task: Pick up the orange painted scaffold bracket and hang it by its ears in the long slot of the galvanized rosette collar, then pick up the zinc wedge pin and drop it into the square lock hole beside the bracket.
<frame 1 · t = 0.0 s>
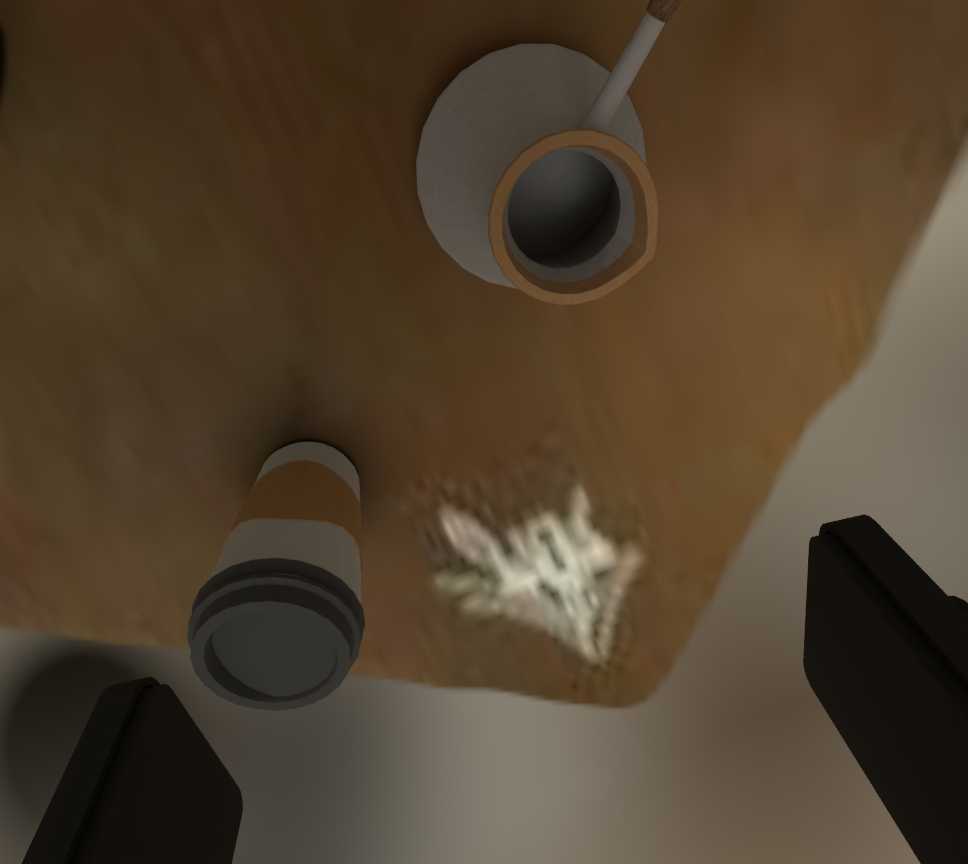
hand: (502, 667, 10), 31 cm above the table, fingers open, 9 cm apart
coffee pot: (562, 69, 34), on the table
coffee cup: (311, 477, 45), on the table
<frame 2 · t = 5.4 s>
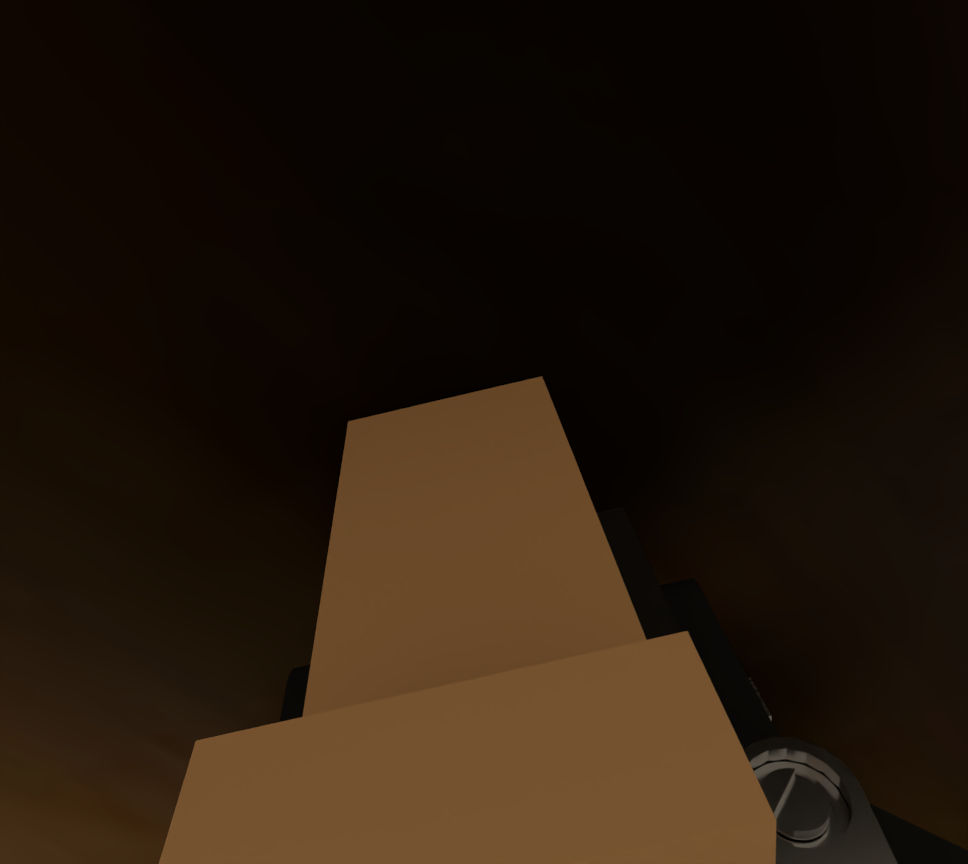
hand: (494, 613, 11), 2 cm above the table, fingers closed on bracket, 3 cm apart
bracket: (483, 540, 12), on the table, touching gripper
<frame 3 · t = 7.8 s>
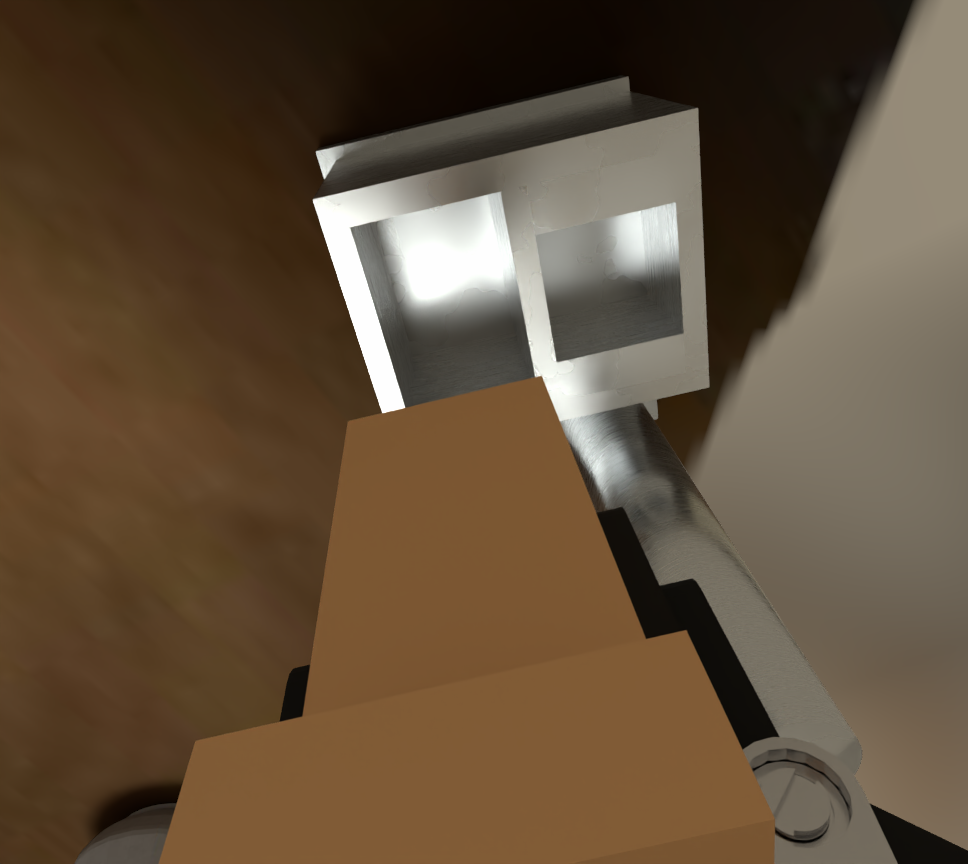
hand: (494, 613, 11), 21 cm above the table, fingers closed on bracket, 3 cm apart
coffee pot: (193, 791, 46), on the table
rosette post: (505, 294, 30), on the table
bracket: (483, 539, 12), point 19 cm above the table, touching gripper
when the fingers open (8 cm above the table, at t = 10.3 s): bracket drops 5 cm, resting on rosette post.
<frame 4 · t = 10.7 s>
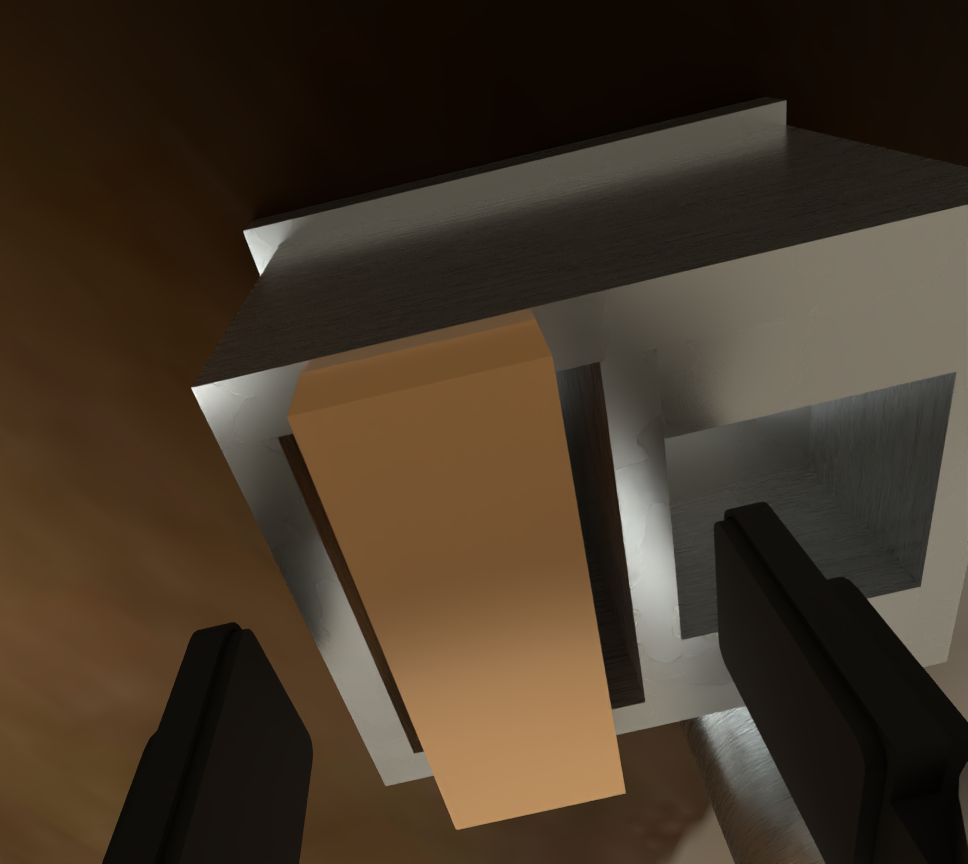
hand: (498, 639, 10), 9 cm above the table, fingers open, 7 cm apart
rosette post: (556, 433, 19), on the table
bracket: (458, 401, 17), point 1 cm above the table, touching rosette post
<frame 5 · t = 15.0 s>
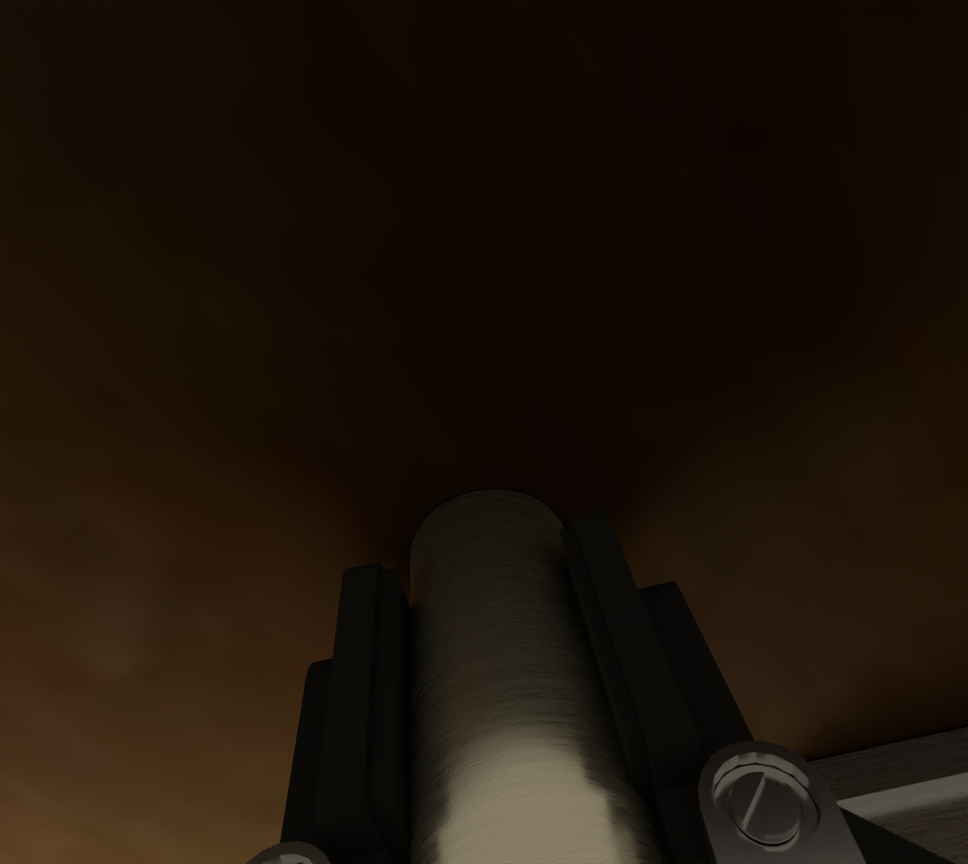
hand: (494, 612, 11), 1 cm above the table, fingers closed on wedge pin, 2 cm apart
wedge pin: (489, 554, 12), on the table, touching gripper
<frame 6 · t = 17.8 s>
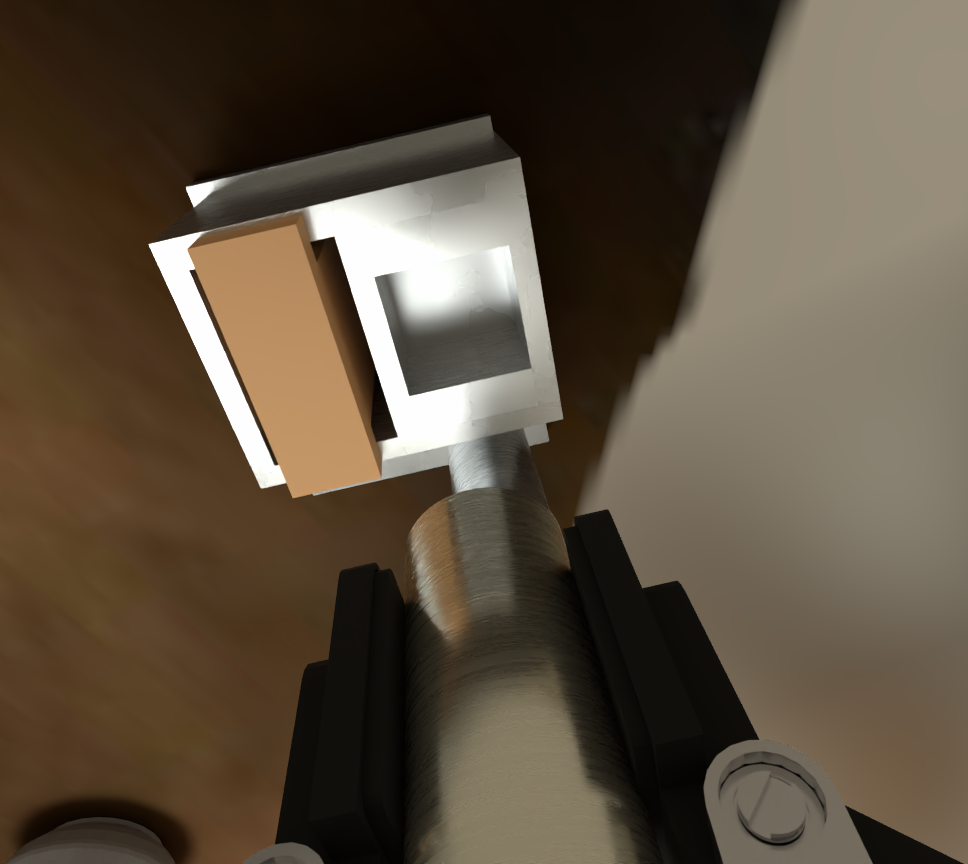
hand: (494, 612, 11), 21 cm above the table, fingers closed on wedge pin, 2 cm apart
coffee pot: (117, 804, 46), on the table
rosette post: (390, 322, 31), on the table
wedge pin: (484, 552, 12), point 20 cm above the table, touching gripper
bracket: (319, 294, 29), point 1 cm above the table, touching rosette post
when the fingers open (8 cm above the table, at t = 20.5 s): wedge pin drops 3 cm, resting on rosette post.
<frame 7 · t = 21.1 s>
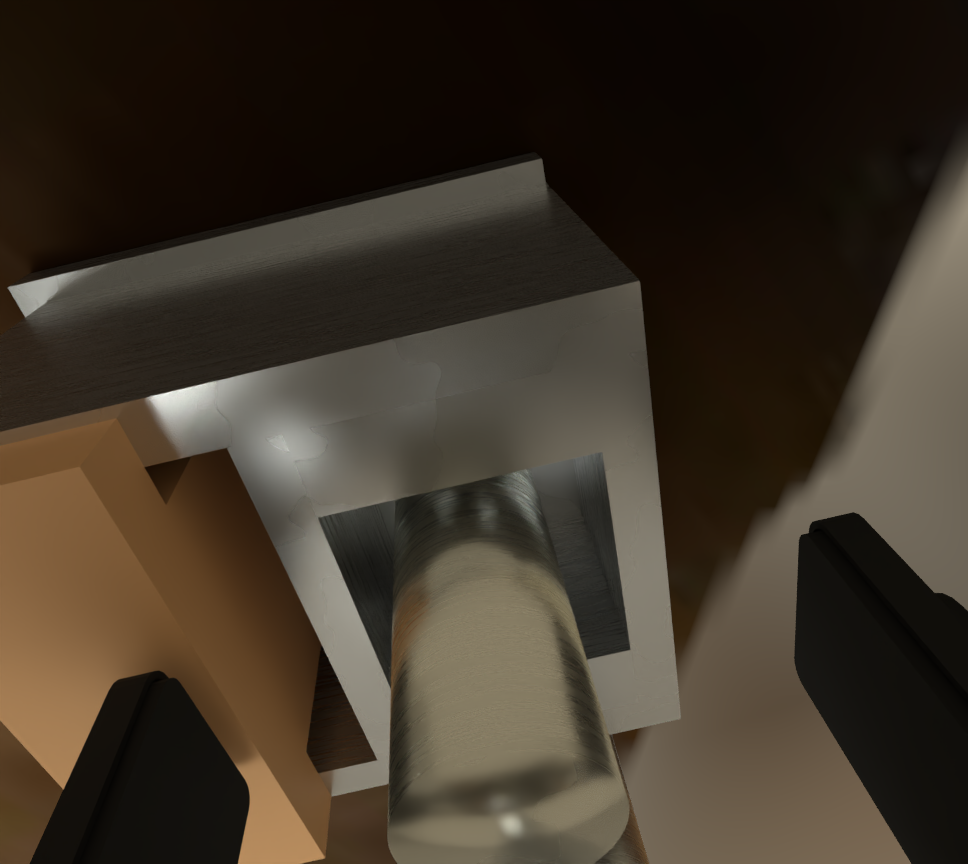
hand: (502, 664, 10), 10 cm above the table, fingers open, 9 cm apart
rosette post: (373, 475, 19), on the table
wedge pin: (461, 460, 15), point 4 cm above the table, touching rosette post
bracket: (239, 453, 17), point 1 cm above the table, touching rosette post
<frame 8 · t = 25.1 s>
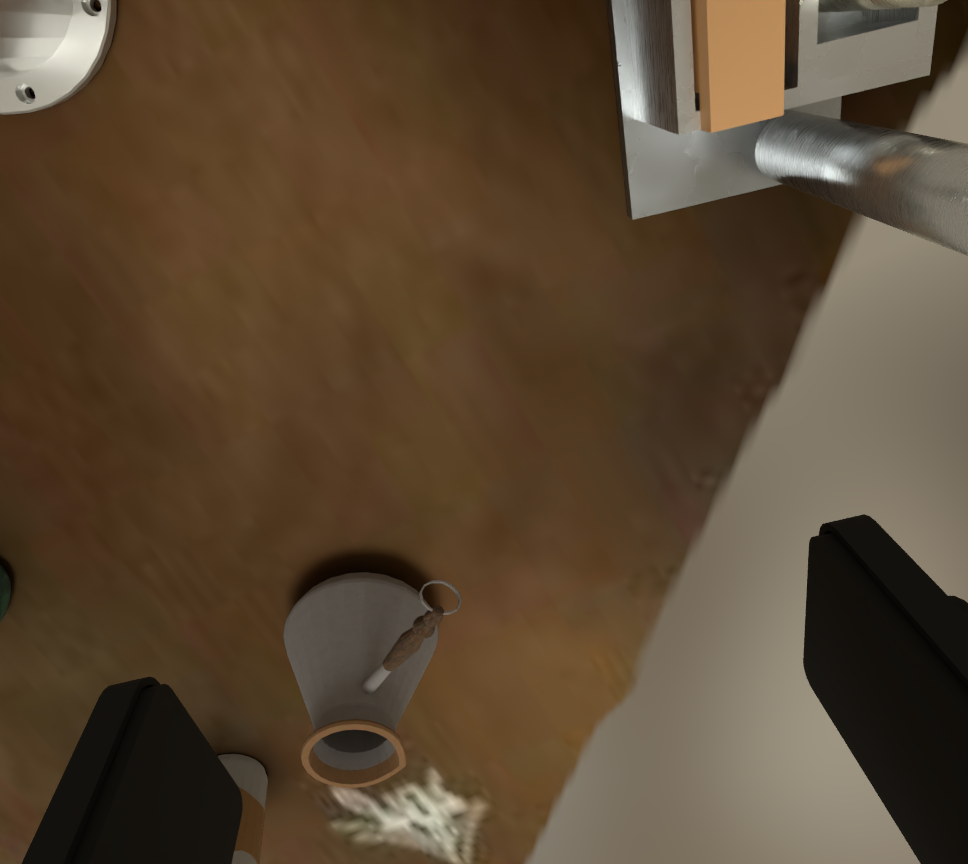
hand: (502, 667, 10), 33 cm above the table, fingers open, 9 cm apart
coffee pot: (384, 561, 52), on the table
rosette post: (724, 48, 36), on the table
coffee cup: (233, 771, 62), on the table
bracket: (677, 10, 34), point 1 cm above the table, touching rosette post
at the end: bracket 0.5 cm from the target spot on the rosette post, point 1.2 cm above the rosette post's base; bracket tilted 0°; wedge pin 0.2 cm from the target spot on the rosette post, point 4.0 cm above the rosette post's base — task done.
